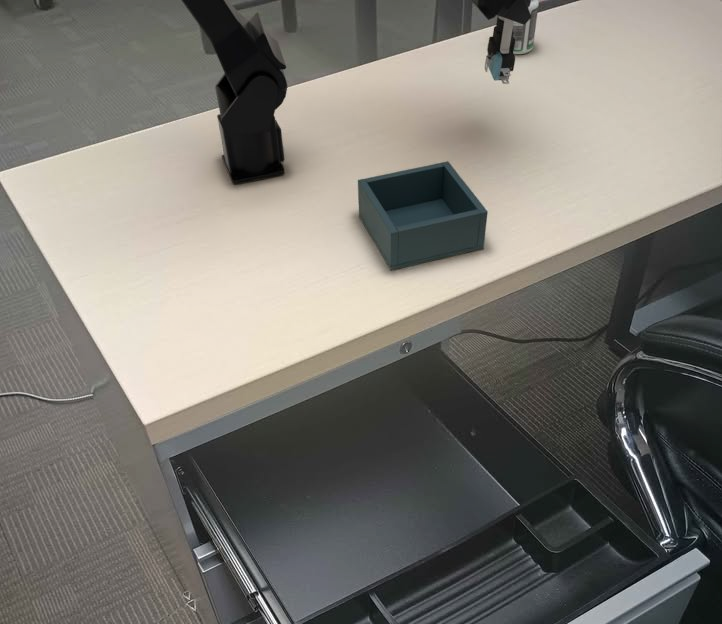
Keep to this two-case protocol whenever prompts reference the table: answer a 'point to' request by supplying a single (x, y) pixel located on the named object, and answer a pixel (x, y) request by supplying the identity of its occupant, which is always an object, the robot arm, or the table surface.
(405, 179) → the bin
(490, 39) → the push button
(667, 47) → the table surface
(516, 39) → the pill bottle
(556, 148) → the table surface
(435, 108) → the table surface
